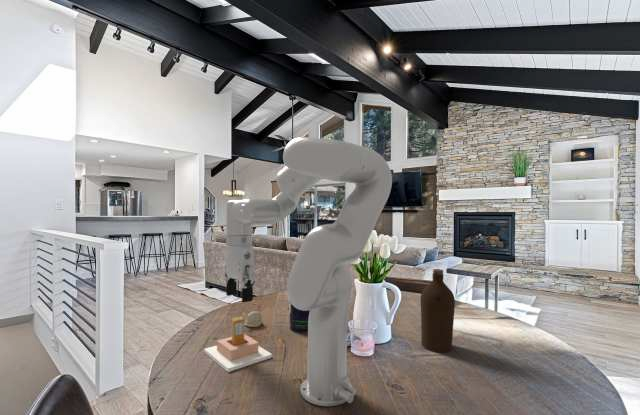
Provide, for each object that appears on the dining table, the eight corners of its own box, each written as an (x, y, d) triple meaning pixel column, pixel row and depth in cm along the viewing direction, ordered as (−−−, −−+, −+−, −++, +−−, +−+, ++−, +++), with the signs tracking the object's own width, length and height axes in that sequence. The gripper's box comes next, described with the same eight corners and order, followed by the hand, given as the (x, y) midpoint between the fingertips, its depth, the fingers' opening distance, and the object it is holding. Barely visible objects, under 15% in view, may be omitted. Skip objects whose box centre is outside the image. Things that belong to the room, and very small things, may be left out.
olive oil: (461, 351, 107) (462, 272, 107) (431, 354, 104) (432, 273, 104) (441, 338, 117) (442, 266, 117) (413, 341, 115) (415, 267, 114)
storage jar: (285, 331, 121) (286, 289, 121) (294, 322, 131) (294, 283, 131) (312, 334, 119) (313, 292, 119) (319, 324, 128) (319, 285, 128)
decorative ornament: (264, 325, 127) (265, 311, 127) (243, 329, 123) (243, 314, 123) (260, 322, 131) (260, 308, 131) (239, 326, 126) (239, 311, 126)
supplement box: (230, 350, 103) (231, 317, 102) (242, 348, 104) (242, 316, 104) (233, 355, 100) (233, 321, 99) (244, 352, 101) (245, 319, 101)
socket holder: (271, 357, 101) (272, 344, 101) (228, 372, 91) (228, 357, 91) (245, 340, 113) (245, 328, 113) (204, 352, 103) (204, 339, 103)
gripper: (265, 242, 98) (265, 301, 98) (236, 238, 111) (236, 290, 111) (242, 244, 93) (241, 306, 93) (215, 239, 106) (214, 294, 106)
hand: (239, 298), depth 102 cm, fingers open, 9 cm apart
